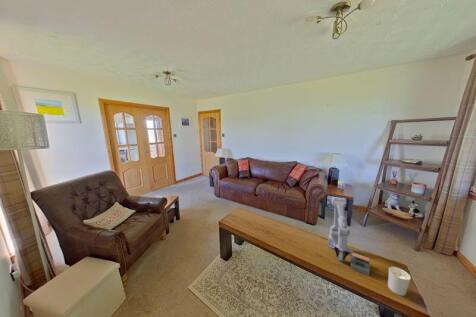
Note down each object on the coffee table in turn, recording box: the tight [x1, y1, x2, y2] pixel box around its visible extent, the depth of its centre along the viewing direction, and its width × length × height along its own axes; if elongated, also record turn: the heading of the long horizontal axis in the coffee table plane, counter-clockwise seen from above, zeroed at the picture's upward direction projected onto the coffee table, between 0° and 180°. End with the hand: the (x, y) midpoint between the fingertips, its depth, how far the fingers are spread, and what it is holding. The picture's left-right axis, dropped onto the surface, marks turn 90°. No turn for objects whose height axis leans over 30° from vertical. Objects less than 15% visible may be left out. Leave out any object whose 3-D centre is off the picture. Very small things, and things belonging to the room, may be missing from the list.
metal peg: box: [337, 249, 345, 263], centre depth 126 cm, size 4×4×8 cm
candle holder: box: [387, 266, 412, 297], centre depth 102 cm, size 10×10×12 cm
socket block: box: [349, 252, 371, 277], centre depth 120 cm, size 11×12×6 cm
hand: (340, 257), depth 126 cm, fingers closed on metal peg, 4 cm apart
